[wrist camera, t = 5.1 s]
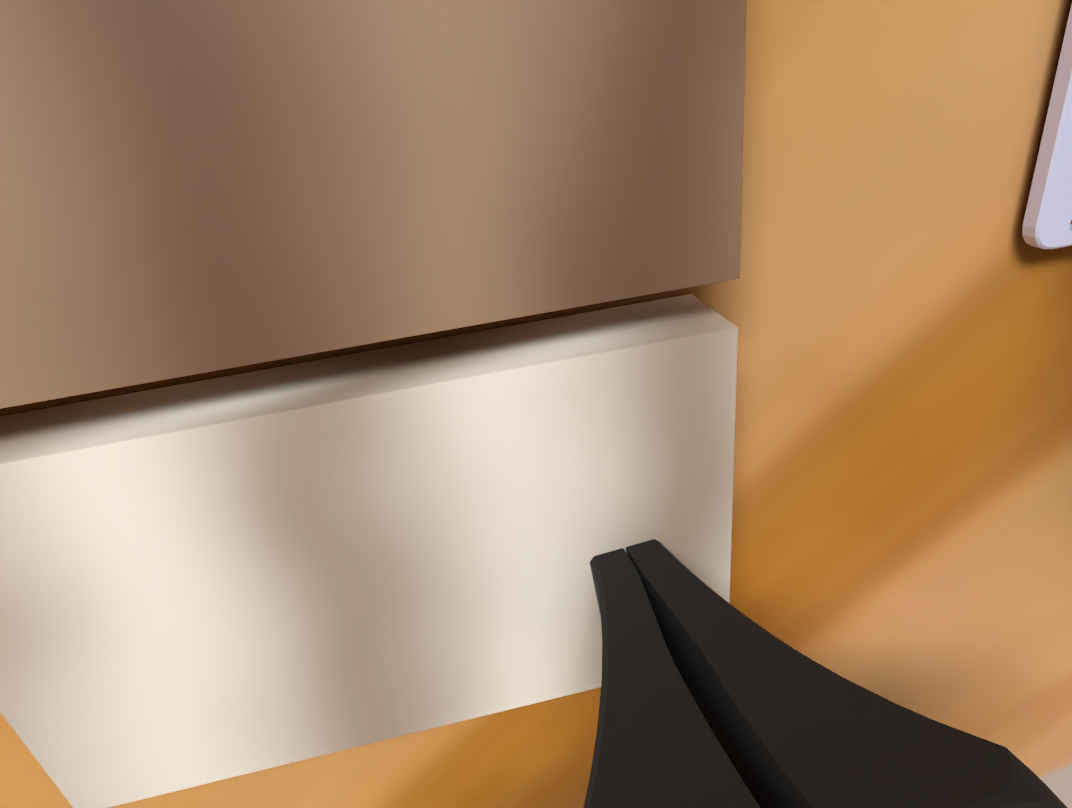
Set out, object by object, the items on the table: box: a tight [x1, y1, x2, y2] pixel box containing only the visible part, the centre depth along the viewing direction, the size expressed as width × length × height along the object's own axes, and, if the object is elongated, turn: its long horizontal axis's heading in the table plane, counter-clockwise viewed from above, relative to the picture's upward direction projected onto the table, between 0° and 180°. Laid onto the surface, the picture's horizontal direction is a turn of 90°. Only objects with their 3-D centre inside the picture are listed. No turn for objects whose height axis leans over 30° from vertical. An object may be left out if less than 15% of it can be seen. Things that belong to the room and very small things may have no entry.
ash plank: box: [0, 294, 738, 808], centre depth 13 cm, size 14×8×2 cm, turn 97°
